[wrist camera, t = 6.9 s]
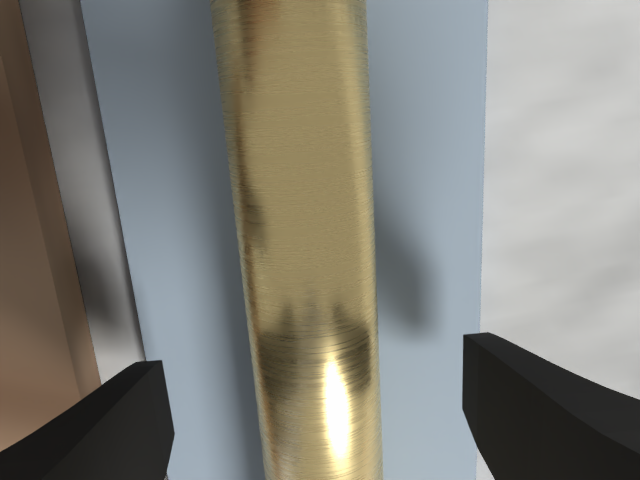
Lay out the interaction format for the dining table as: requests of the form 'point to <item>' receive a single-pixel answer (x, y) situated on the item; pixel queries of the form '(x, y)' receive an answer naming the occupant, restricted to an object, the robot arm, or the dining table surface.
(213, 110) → the slate mat
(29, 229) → the rail stand
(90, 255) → the dining table surface
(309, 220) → the brass rail
